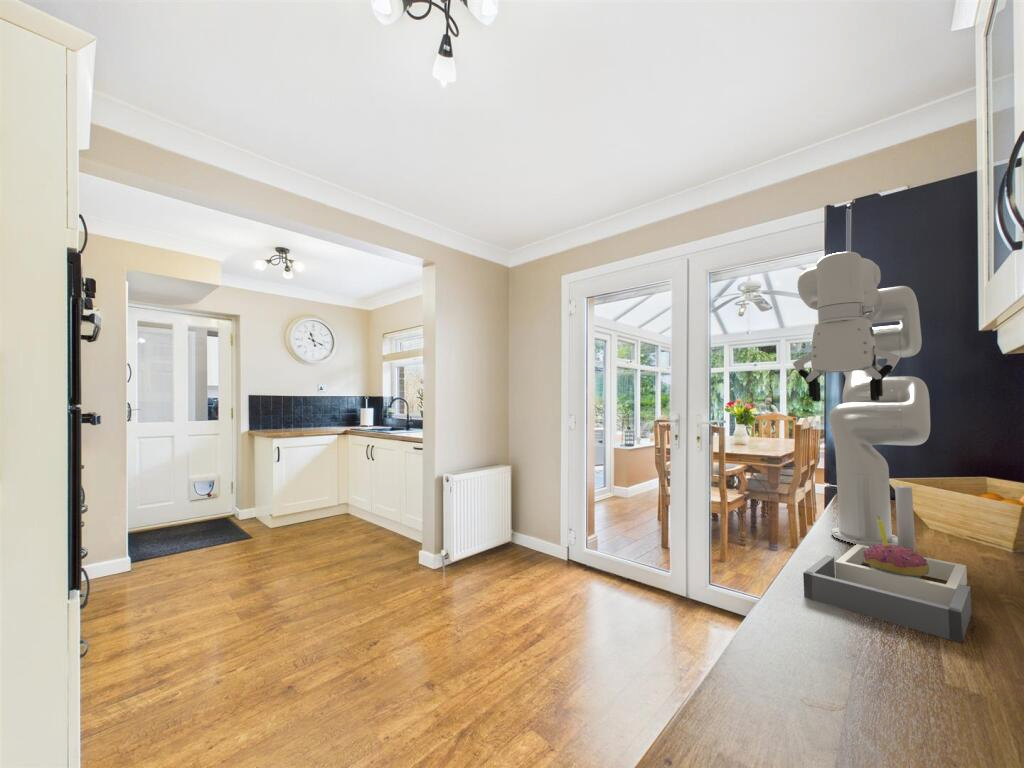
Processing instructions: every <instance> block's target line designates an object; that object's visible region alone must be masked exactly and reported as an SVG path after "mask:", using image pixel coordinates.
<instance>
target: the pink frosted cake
mask: <svg viewBox="0 0 1024 768" xmlns="http://www.w3.org/2000/svg"><path fill="white" fill-rule="evenodd" d="M877 516H878V515H877ZM878 519H879V520H878V525H879V529H880V533H881V537H882V541H883V544H882V545H881V544H878V545H874V546H872V547H869V548H868V549H867V548H866V549H867V550H866V551H864V554H863V556H864V559H865V562H866V563H865V564H868V565H869V566H870V568H875V569H879V570H881V571H886V572H890V573H895V574H897V575H899V574H900V575H906V576H910V577H915V578H919V579H921V577H922V576H924V575H925V574H928V573H929V565H928V563H927V562H926V561H927V560H926V559H924V556H922V555H920V553H919V552H917V551H916V550H915V551H913V550H912V549H909V548H906V547H905V548H904V547H901V546H898V545H893V544H892V545H888V542H887V538H886V534H885V530H884V526H883V522H882V520H880V518H879V516H878Z"/></svg>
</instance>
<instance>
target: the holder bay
mask: <svg viewBox="0 0 1024 768" xmlns="http://www.w3.org/2000/svg"><path fill="white" fill-rule="evenodd" d="M835 561H836V560H835V556H833V555H829V554H826V555H824V556H823V557H822V558H821V559H819V560H818V561H817V562H815V563H814V564H812V565H811V566H810V567H809V568H807V569H806V570H805V571H804V572H803V573H802V574H803V575H802V576H803V579H802V580H803V598H804V599H810V600H812V601H817V602H819V603H823V604H826V605H830V606H834V607H837V608H840V609H843V610H846V611H849V612H854V613H858V614H861V615H864V616H868V617H872V618H874V619H878V620H881V621H885V622H888V623H891V624H895V625H899V626H902V627H905V628H908V629H913V630H916V631H919V632H922V633H926V634H929V635H933V636H935V637H936V636H937V637H940V638H943V639H947V640H949V641H954V642H957V643H960V642H961V643H960V644H963V643H964V642H963V641H964V640H963V639H964V638H965V636H966V634H967V633H966V632H967V629H968V626H969V623H970V621H971V618H972V617H971V616H972V614H973V612H972V611H973V609H972V592H971V586H969V585H966V586H965V585H961V584H959V586H958V588H957V590H956V593H955V595H954V597H953V600H952V602H951V604H950V607H948V606H944V605H940V604H936V603H932V602H928V601H924V600H920V599H916V598H912V597H908V596H904V595H900V594H896V593H892V592H888V591H884V590H880V589H876V588H872V587H868V586H864V585H860V584H856V583H852V582H848V581H844V580H840V579H836V572H835ZM962 642H963V643H962Z"/></svg>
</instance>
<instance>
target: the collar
mask: <svg viewBox="0 0 1024 768" xmlns="http://www.w3.org/2000/svg"><path fill="white" fill-rule="evenodd" d="M894 492H895V493H894V494H895V513H896V533H897V535H896V536H897V538H898V546H901V547H904V548H905V547H906V548H909V549H912V550H913V551H915V552H916V540H915V521H914V502H913V501H914V499H913V496H914V495H913V487H912V486H908V485H895V486H894ZM866 548H867V549H868V548H869V546H864V545H859V544H856V545H855V544H854V546H852V547H851V548H850V549H849V550H847V551H846V552H845V553H844V554H842V555H841V556H840V557H839V558H837V559H836V560H835V578H836V579H840V580H844V581H848V582H852V583H856V584H860V585H864V586H868V587H872V588H876V589H880V590H884V591H888V592H892V593H896V594H900V595H904V596H908V597H912V598H916V599H920V600H924V601H928V602H932V603H936V604H940V605H944V606H948V607H950V604H951V602H952V600H953V597H954V595H955V593H956V590H957V588H958V586H959V584H961V585H965V586H967V584H968V577H967V576H968V573H967V564H961V563H955V562H951V561H945V560H940V559H935V558H931V557H924V556H923V557H924V559H926V560H927V561H926V562H927V563H928V565H929V573H928V574H925V575H923V576H924V577H929V578H935V579H939V580H943V581H946V583H941V582H937V581H932V580H927V579H923V578H915V577H910V576H906V575H900V574H899V575H897V574H895V573H890V572H886V571H881V570H879V569H875V568H871V566H870V567H869V566H865V565H862V564H863V563H865V564H867V563H866V562H865V559H864V556H863V554H864V551H866V550H867V549H866Z"/></svg>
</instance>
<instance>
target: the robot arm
mask: <svg viewBox="0 0 1024 768" xmlns="http://www.w3.org/2000/svg"><path fill="white" fill-rule="evenodd" d="M881 278H882V275H881V269H880V267H879V265H878V264H876V262H874V261H873V260H871V259H869V258H865V257H862V256H861V254H859V253H858V252H855V251H843V252H842V251H841V252H836V253H832V254H831V253H830V254H827V255H826V256H822V257H821V258H820V259H819V260H818V261H817V263H816V266H815V267H811V268H807V269H806V270H804V271H803V272H801V274H800V275H799V276H798V279H797V291H798V295H799V297H800V299H801V300H802V301H803V303H804V304H805V305H806V306H807V307H808V308H809V309H812V310H815V311H817V322H818V323H817V324H815V325H814V329H813V334H812V340H811V352H810V353H808V354H805V356H803V357H801V358H799V359H797V360H795V361H794V362H793V363H792V365H793V366H794V368H795V370H796V371H797V372H798V375H799V376H801V377H802V378H803V379H804V380H805V381H806V382H808V396H809V398H811V401H812V402H820V401H821V398H822V397H821V382H820V381H818V380H819V378H820V377H821V376H822V375H823V374H824V373H843V375H844V377H845V382H844V386H843V391H842V395H841V396H842V403H839V404H838V405H836V406H834V407H833V408H832V409H831V411H830V413H829V425H830V430H831V435H832V439H833V444H834V445H833V446H834V452H835V466H836V467H835V468H836V469H835V470H836V487H837V489H836V491H837V512H838V513H837V516H838V527H833V528H832V529H830V534H831V533H832V534H833V535H834V536H835V537H837V538H839V539H842V540H844V541H847V542H850V543H849V544H851V543H853V544H852V545H855V544H859V545H864V546H869V547H872V546H874V545H878V544H881V545H882V544H883V541H882V537H881V533H880V529H879V525H878V520H879V519H878V516H879V518H880V520H882V522H883V526H884V530H885V534H886V538H887V542H888V545H892V544H893V545H898V538H897V535H895V534H893V531H892V530H893V529H892V515H891V514H892V513H891V512H892V510H891V490H890V489H891V488H890V471H889V470H890V469H889V464H888V462H887V460H886V458H885V457H884V456H883V455H882V454H881V453H880V452H879V451H877V449H875V448H874V447H873V446H874V445H877V446H879V445H889V446H919V445H922V444H924V443H926V441H927V440H928V439H929V436H930V435H931V434H930V433H931V406H930V402H931V401H930V400H931V399H930V393H929V388H928V386H927V384H926V383H925V381H924V380H923V379H921V378H919V377H916V376H911V375H909V376H908V375H907V376H906V375H901V376H900V375H899V376H895V375H894V376H889V374H890V373H891V372H892V371H894V369H895V367H896V365H898V362H899V361H900V359H901V358H911V357H914V356H915V355H917V354H918V353H919V352H920V351H921V348H922V342H923V340H922V329H921V320H920V309H919V303H918V300H917V296H916V294H915V292H914V290H913V289H912V288H911V287H910V286H907V285H899V286H891V287H885V288H877V287H878V286H879V284H880V283H881ZM893 322H899V324H895V325H884V326H876V327H875V326H874V327H873V324H879V323H881V324H882V323H893ZM883 359H886V360H887V361H886V363H885V365H884V366H883V367H882V366H881V365H879V364H878V360H883ZM809 362H811V369H812V370H811V372H809V370H806V368H805V364H808V363H809ZM877 515H878V516H877ZM844 541H843V542H844ZM847 542H846V543H847Z"/></svg>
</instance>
